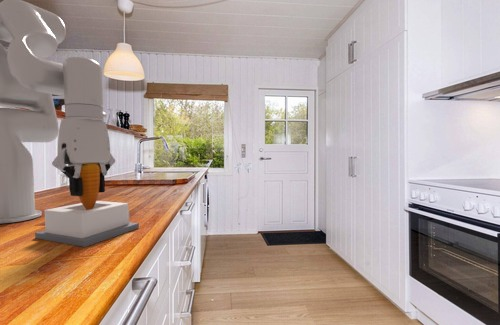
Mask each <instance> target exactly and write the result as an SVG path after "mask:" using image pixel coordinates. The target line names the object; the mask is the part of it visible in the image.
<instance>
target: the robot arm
mask: <svg viewBox="0 0 500 325" xmlns="http://www.w3.org/2000/svg"><path fill="white" fill-rule="evenodd" d="M66 35H67V30H66V25H65V23H64V21H63V20H62V19H61V17H60V16H58V15H57V14H55V13H53V12H52V11H49V10H47V9H45V8H41V7H39V6H37V5H34V4H32V3H30V2H27V1H25V0H2V1H1V2H0V41H3V42H6V43H9V45H8V47H7V48H6V47H5V46H4V45H3V44H2V43H1V42H0V224H10V223H17V222H24V221H28V220H29V221H30V220H32V219H36V218H40V217H41V216H42V215H43V214H42V213H43V211H42V210H38V209H36V201H35V198H36V196H35V182H34V181H35V180H34V163H33V162H34V161H33V156H32V154H31V152H30V151H29V150H28V148H27V147H26V146H25V145H24V144H23V143H51V142H53V141H55V140H56V139H57V155H56V157H55V158H54V160H53V161H52V162H51V165H52V166H53V167H54V168H56V169H57V170H60V172H62V174H63V175H64V176H65V178H66V179H68V186H69V193H70V196H72V197H79V196H82V195H83V185H82V178H79V176H80V171H81V166H82V164H92V163H94V164H98V165H99V168H100V186H99V193H105V191H106V185H105V183H106V182H105V179H106V178H105V176H107V175H108V171H109V170H110V169H111V167H112V166H113V165H114V164H115V163H116V159H115V158H114V156H113V155H112V153H111V145H110V136H109V130H108V126H107V122H106V121H105V120H104V119H106V118H107V113H106V112H104V98H103V97H104V95H103V75H102V74H103V73H102V67H101V65H100V63H99V62H97V61H96V60H94V59H91V58H87V57H81V56H69V57H67V58H65V59H64V60H63V62H57V61H54V60H50V59H47V58H50V57H51V56H53V55H54V54H55V53H56V51H57V50H58V46H59V45H60V44H61V43H63V42H64V40H65V38H66ZM53 95H54V96H59V97H63V100H64V117H65V118H63V119H61V120H60V124H59V121H58V115H57V111H56V107H55V102H54V98H53ZM1 106H2V107H1Z"/></svg>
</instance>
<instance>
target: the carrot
mask: <svg viewBox="0 0 500 325" xmlns="http://www.w3.org/2000/svg"><path fill="white" fill-rule="evenodd" d="M79 178H82V185H83V195H82V196H78V198H79V200H80V203H82V204H83V206H84V207H85V209H86V210H90V209H93V207H94V205H95V203H96V201H98V198H99V197H98V196H99V193H100V192H99V186H100V168H99V165H98V164H94V163H92V164H82V166H81V171H80V176H79Z"/></svg>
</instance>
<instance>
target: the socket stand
mask: <svg viewBox="0 0 500 325" xmlns="http://www.w3.org/2000/svg"><path fill="white" fill-rule="evenodd" d="M129 205H130V204H129V203H127V202H116V201H114V202H113V201H106V200H105V201H104V200H96V203H95V205H94V207H93V209H90V210H86V209H85V207H84V206H83V204H82V202H79V203H75V204H70V205H64V206H59V207H58V206H57V207H54V208H53V207H51V208H48V209H44V226H45V227H44V228H45V229H44V230H41V231H40V230H39V231H36V232H34V239H36V240H37V239H38V240H44V241H49V242H56V243H60V244H65V245H66V244H67V245H71V246H72V245H73V246H76V247H83V248H86V247H89V246H91V245H95V244H97V243H101V242H103V241H106V240H108V239H113V238H115V237H117V236H120V235H123V234H126V233H129V232H131V231H135V230H138V229H140V224H139V223H140V222H131V221H130V206H129Z"/></svg>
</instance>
